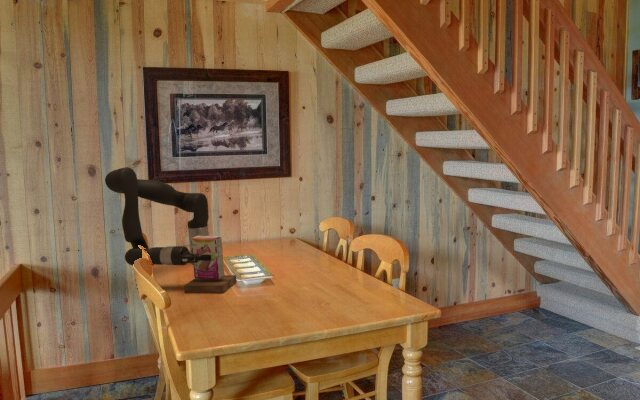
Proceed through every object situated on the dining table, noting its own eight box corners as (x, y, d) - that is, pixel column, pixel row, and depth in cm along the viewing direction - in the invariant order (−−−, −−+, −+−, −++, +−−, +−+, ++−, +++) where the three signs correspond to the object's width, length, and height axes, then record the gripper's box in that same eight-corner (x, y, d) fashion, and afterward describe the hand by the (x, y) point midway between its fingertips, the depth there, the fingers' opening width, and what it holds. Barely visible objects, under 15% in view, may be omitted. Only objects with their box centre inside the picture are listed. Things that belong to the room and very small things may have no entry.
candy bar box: (193, 278, 210) (190, 238, 208) (200, 275, 215) (197, 235, 212) (218, 280, 206) (215, 238, 204) (225, 276, 211) (221, 235, 209)
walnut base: (200, 282, 220) (199, 275, 219) (236, 282, 216) (235, 275, 216) (184, 293, 206) (183, 285, 206) (222, 293, 202) (222, 285, 202)
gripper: (164, 250, 205) (205, 250, 201) (182, 242, 219) (220, 242, 215) (166, 269, 206) (207, 270, 202) (183, 260, 220) (222, 260, 216)
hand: (213, 255), depth 209 cm, fingers closed on candy bar box, 5 cm apart
